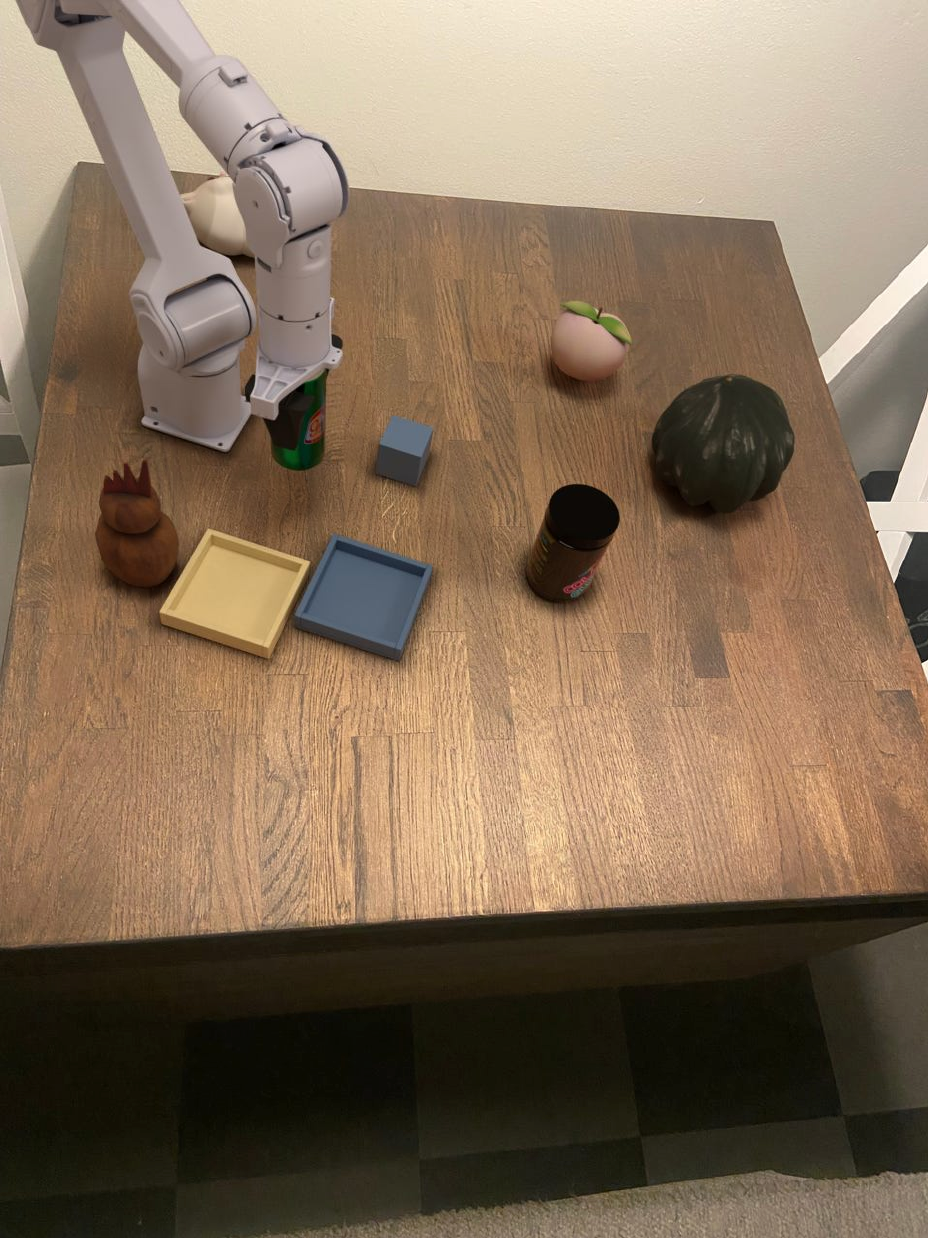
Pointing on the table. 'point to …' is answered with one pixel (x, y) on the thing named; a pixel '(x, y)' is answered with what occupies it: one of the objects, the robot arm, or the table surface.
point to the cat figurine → (217, 217)
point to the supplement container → (571, 541)
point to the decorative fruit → (588, 342)
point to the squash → (724, 442)
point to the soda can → (307, 429)
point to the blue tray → (364, 597)
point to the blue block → (404, 450)
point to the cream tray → (236, 593)
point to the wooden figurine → (135, 530)
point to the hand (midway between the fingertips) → (296, 425)
